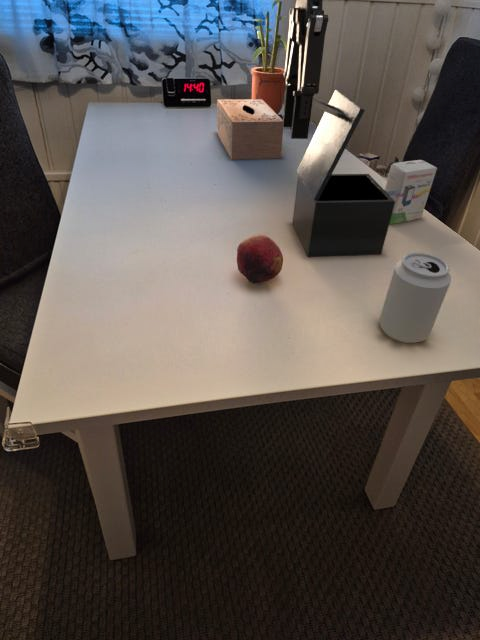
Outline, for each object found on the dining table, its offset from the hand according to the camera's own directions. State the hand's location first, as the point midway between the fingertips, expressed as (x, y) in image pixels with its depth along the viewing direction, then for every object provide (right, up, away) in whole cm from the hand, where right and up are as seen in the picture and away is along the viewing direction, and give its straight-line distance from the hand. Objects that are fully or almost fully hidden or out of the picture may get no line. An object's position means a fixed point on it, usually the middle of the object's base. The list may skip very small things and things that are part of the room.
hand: (294, 131), depth 76 cm
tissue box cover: (-7, +21, +60) cm, 65 cm away
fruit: (-6, -25, +1) cm, 26 cm away
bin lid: (+6, -1, +2) cm, 7 cm away
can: (+15, -34, -8) cm, 38 cm away
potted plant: (-2, +44, +89) cm, 100 cm away
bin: (+10, -16, +14) cm, 23 cm away
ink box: (+26, -9, +23) cm, 36 cm away
